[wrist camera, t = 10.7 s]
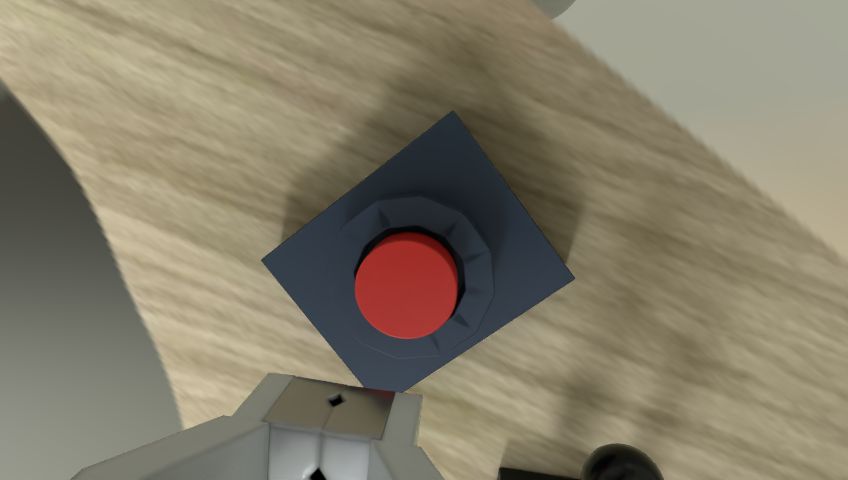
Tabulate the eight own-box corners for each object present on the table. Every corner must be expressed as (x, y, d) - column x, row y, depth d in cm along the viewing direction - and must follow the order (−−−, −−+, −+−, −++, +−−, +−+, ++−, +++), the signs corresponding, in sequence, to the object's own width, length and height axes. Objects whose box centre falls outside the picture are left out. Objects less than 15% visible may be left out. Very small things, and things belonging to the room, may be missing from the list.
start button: (419, 212, 20) (414, 219, 18) (477, 288, 21) (478, 302, 19) (344, 267, 21) (333, 279, 19) (402, 340, 21) (396, 358, 20)
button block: (454, 112, 23) (451, 107, 19) (566, 266, 24) (585, 291, 20) (278, 249, 25) (242, 270, 21) (387, 385, 26) (373, 429, 22)
